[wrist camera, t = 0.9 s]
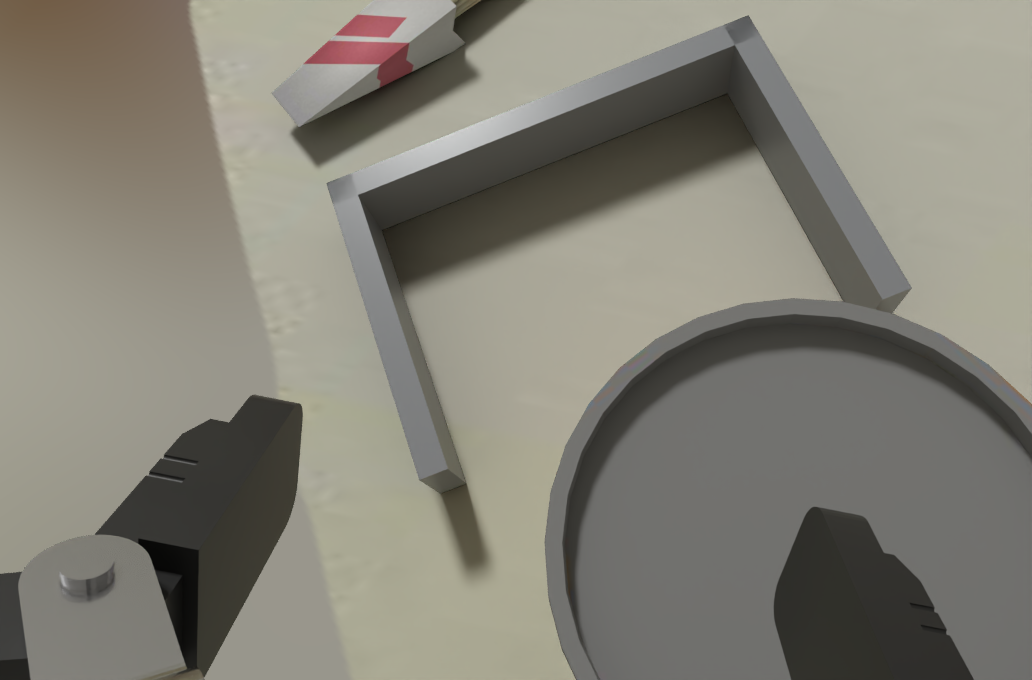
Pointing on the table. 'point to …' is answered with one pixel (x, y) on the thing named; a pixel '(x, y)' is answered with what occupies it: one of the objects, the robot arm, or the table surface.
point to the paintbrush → (371, 54)
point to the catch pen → (576, 127)
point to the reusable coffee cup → (786, 489)
